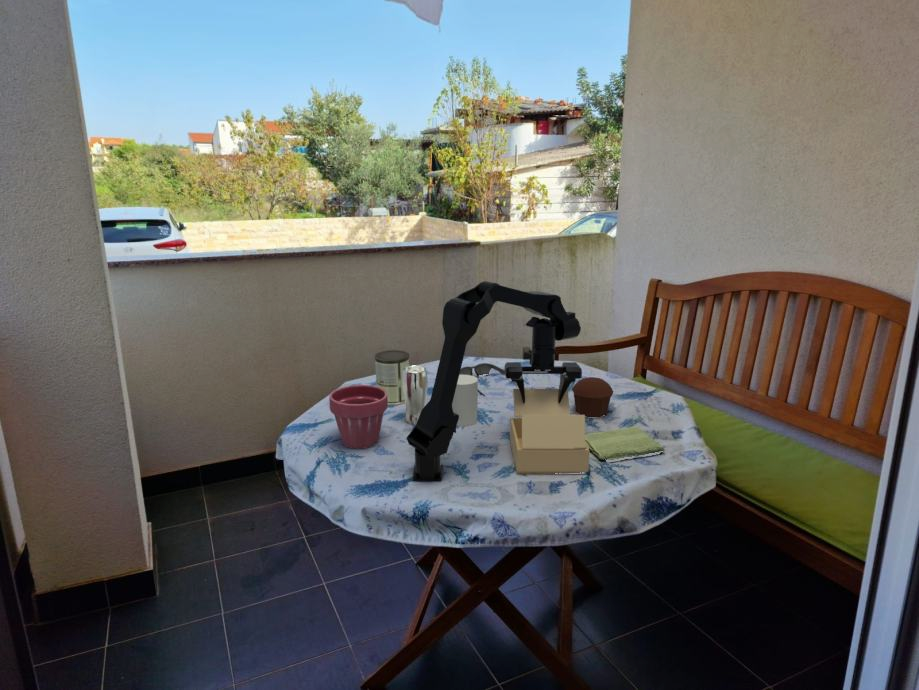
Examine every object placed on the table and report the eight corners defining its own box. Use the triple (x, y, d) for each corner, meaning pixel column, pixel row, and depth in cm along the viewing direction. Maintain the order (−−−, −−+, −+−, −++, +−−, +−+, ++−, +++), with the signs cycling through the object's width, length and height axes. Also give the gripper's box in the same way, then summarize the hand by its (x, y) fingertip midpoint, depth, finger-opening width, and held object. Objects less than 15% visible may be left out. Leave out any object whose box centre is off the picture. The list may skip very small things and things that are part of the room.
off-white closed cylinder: (483, 420, 153) (483, 379, 150) (462, 429, 148) (462, 386, 144) (462, 412, 159) (462, 372, 155) (441, 420, 153) (441, 379, 150)
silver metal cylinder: (421, 427, 149) (420, 374, 145) (398, 423, 151) (397, 371, 147) (432, 417, 155) (431, 366, 151) (410, 413, 158) (408, 363, 153)
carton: (587, 474, 124) (589, 450, 123) (516, 474, 124) (517, 450, 123) (572, 439, 142) (573, 417, 140) (509, 439, 142) (510, 417, 140)
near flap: (521, 414, 124) (522, 414, 123) (584, 414, 124) (584, 414, 123) (521, 447, 123) (522, 447, 123) (584, 447, 123) (585, 447, 123)
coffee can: (379, 392, 174) (377, 349, 170) (411, 393, 173) (410, 350, 170) (373, 405, 164) (371, 359, 160) (408, 405, 163) (407, 360, 160)
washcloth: (576, 442, 141) (577, 430, 140) (637, 434, 145) (639, 423, 145) (601, 466, 129) (602, 453, 128) (667, 457, 133) (669, 445, 132)
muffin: (598, 402, 166) (600, 371, 163) (619, 416, 156) (622, 383, 153) (563, 407, 162) (564, 375, 160) (582, 422, 152) (585, 388, 149)
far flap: (567, 388, 142) (567, 389, 143) (513, 388, 142) (513, 389, 143) (570, 416, 139) (569, 416, 140) (514, 415, 139) (514, 416, 140)
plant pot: (398, 433, 145) (396, 387, 141) (372, 457, 132) (370, 407, 128) (350, 426, 149) (348, 381, 146) (321, 448, 137) (317, 399, 133)
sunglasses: (491, 373, 192) (492, 360, 190) (522, 393, 180) (523, 379, 178) (451, 382, 183) (452, 369, 182) (481, 403, 171) (482, 389, 169)
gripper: (574, 336, 145) (571, 392, 148) (503, 336, 145) (502, 392, 148) (583, 346, 134) (580, 406, 138) (506, 346, 134) (505, 406, 138)
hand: (541, 402), depth 141 cm, fingers closed on far flap, 9 cm apart
